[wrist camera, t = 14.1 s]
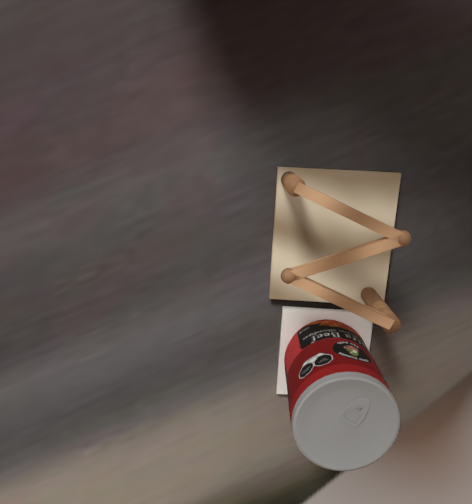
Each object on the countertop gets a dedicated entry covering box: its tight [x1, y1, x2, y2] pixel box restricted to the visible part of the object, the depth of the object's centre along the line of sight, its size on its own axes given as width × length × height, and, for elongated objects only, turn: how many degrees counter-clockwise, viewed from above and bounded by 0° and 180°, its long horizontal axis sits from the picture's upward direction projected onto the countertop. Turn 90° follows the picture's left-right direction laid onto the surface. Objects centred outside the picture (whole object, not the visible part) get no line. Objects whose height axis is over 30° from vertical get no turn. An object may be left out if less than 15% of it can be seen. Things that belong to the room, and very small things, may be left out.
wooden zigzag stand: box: [269, 167, 411, 333], centre depth 36 cm, size 12×10×8 cm
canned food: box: [284, 319, 400, 471], centre depth 37 cm, size 8×8×11 cm
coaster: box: [276, 306, 373, 394], centre depth 42 cm, size 9×8×1 cm
